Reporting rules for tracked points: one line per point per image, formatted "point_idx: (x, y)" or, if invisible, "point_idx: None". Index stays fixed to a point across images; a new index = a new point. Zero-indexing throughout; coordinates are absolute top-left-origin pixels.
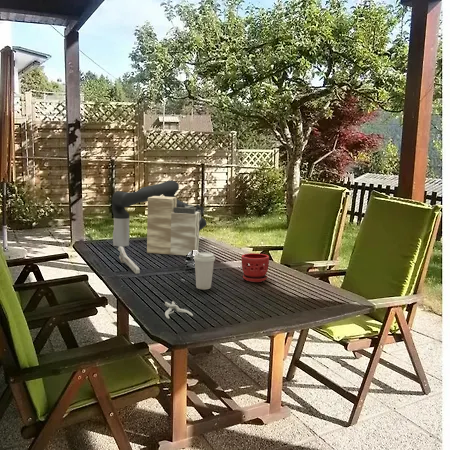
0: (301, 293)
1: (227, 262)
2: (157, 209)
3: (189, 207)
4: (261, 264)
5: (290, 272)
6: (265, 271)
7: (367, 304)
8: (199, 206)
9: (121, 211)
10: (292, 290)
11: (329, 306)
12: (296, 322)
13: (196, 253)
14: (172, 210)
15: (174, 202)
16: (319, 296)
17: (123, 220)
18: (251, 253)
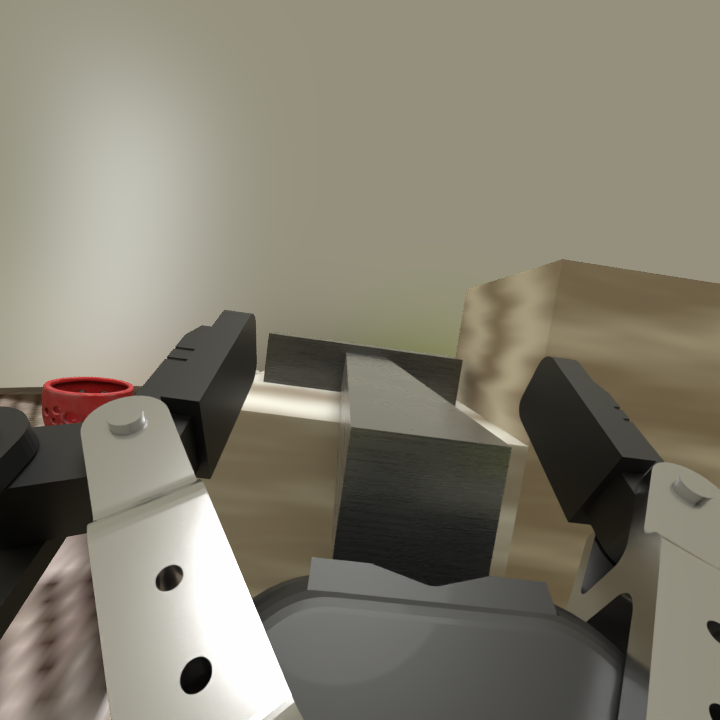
0: (34, 412)
1: (50, 568)
2: None
3: (349, 360)
4: (92, 390)
5: None
6: (71, 412)
7: None
8: (151, 383)
9: None
10: (39, 418)
11: (38, 393)
12: (137, 387)
13: (257, 372)
14: (462, 384)
15: (498, 323)
16: (7, 405)
17: None
18: (83, 393)
